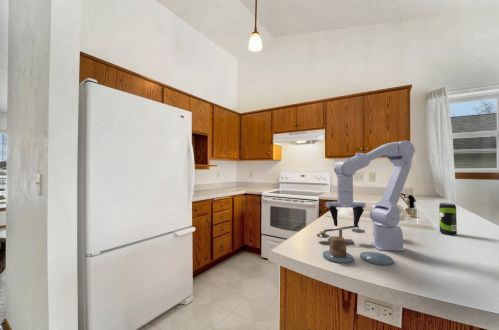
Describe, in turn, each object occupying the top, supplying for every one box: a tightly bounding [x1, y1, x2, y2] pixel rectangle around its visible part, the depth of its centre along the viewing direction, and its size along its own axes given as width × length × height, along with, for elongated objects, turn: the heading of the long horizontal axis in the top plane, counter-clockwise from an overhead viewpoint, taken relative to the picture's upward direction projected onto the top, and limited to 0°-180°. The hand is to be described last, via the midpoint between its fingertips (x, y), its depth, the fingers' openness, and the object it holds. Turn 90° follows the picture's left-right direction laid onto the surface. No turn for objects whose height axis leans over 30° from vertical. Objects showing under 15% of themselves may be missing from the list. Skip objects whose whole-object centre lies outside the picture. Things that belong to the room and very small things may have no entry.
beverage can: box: [438, 202, 458, 236], centre depth 108 cm, size 6×6×15 cm
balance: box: [316, 225, 366, 245], centre depth 94 cm, size 20×5×8 cm, turn 83°
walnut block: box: [329, 235, 347, 258], centre depth 78 cm, size 4×4×6 cm
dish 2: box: [359, 251, 394, 266], centre depth 76 cm, size 10×10×1 cm
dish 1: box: [322, 249, 354, 264], centre depth 78 cm, size 10×10×1 cm
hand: (345, 225), depth 86 cm, fingers open, 7 cm apart
